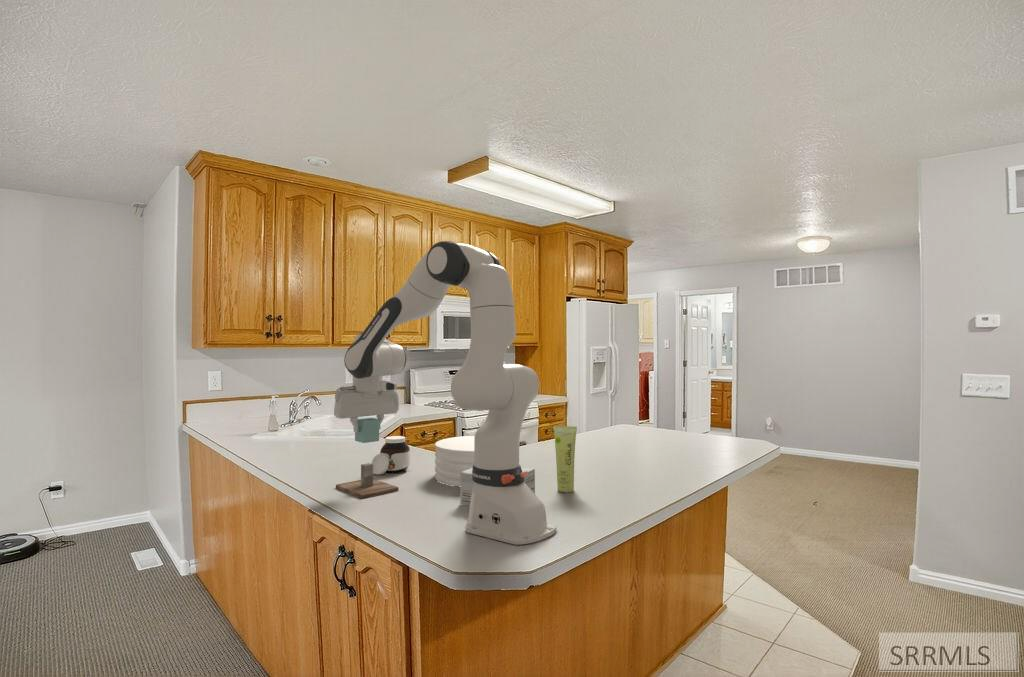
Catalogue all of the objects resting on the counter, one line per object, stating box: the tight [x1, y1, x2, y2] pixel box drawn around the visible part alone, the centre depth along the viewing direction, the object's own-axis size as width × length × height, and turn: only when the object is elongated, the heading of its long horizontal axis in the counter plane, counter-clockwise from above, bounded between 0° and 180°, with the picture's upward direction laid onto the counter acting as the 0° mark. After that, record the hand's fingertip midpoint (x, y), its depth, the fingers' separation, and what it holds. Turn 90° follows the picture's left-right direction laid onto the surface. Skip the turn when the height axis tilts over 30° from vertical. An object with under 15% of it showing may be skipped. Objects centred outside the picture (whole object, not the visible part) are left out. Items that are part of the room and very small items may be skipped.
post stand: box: [335, 462, 399, 499], centre depth 158 cm, size 16×12×8 cm
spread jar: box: [370, 435, 411, 476], centre depth 180 cm, size 12×11×12 cm
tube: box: [552, 425, 578, 493], centre depth 158 cm, size 6×5×20 cm
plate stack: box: [434, 435, 475, 487], centre depth 174 cm, size 28×28×12 cm
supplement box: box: [459, 467, 536, 507], centre depth 145 cm, size 17×13×9 cm
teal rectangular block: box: [354, 416, 380, 444], centre depth 159 cm, size 5×5×7 cm
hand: (367, 430), depth 159 cm, fingers closed on teal rectangular block, 5 cm apart
